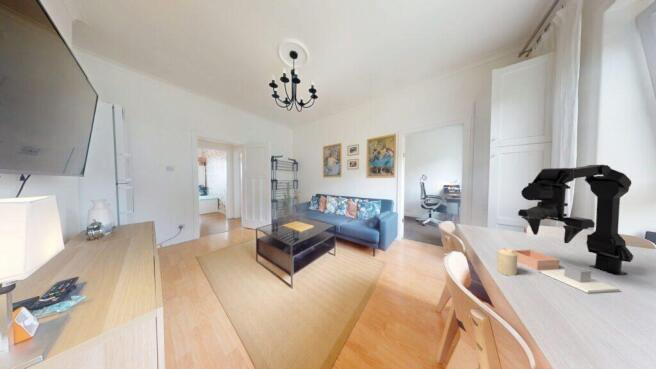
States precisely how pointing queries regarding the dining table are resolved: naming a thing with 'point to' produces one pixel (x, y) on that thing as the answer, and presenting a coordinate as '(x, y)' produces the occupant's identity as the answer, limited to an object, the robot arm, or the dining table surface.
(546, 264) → the dish
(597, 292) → the mat
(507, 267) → the candle
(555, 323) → the dining table surface
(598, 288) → the lid
